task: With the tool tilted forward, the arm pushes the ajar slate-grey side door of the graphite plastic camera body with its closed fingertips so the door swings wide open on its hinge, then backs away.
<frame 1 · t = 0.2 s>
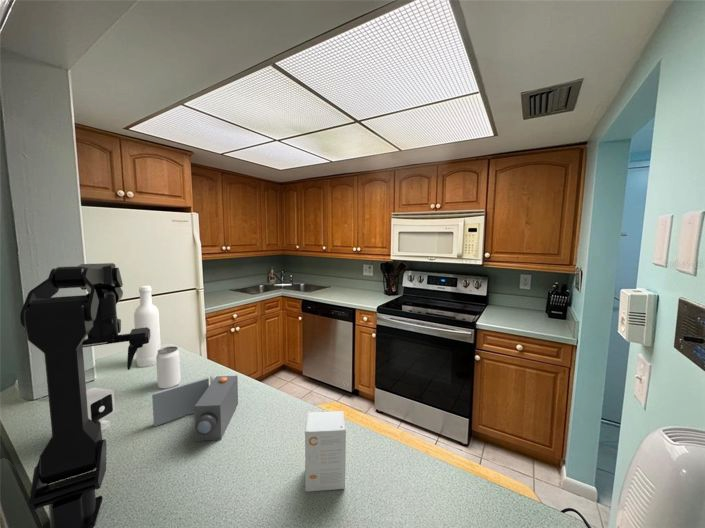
hand: (106, 373, 72), 15 cm above the countertop, tool pointing down, fingers open, 9 cm apart
side door: (182, 399, 78), point 5 cm above the countertop, hinge at 55.0°
can: (169, 384, 95), on the countertop
security camera: (92, 432, 72), on the countertop
bottle: (149, 363, 110), on the countertop
small box: (325, 478, 60), on the countertop
camera body: (213, 405, 84), on the countertop
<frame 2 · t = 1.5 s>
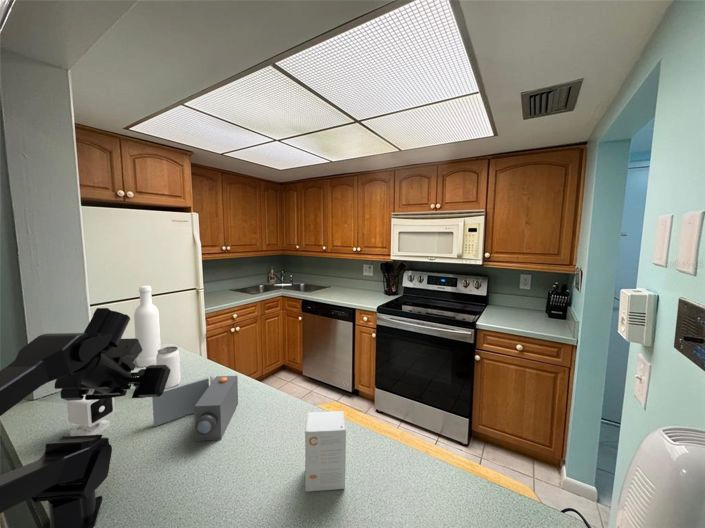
hand: (137, 392, 67), 13 cm above the countertop, tool tilted 45°, fingers open, 5 cm apart
nothing on the countertop moved.
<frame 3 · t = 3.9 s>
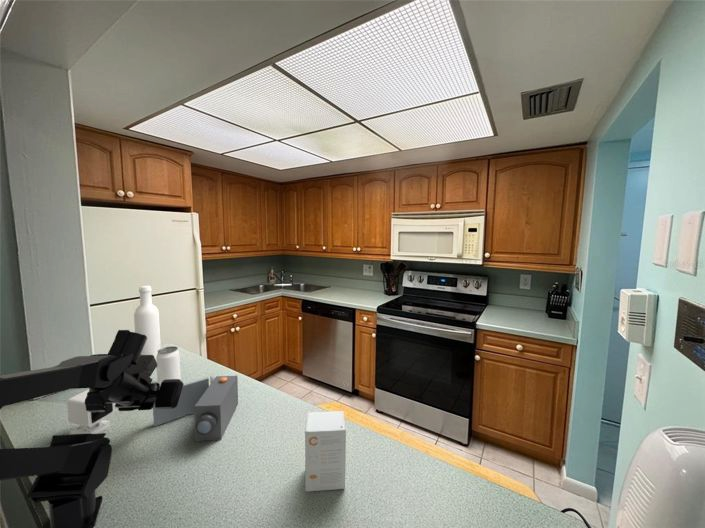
hand: (152, 403, 73), 7 cm above the countertop, tool tilted 45°, fingers closed, pressing on side door
side door: (182, 399, 78), point 5 cm above the countertop, hinge at 55.2°, touching gripper
everything else where it was.
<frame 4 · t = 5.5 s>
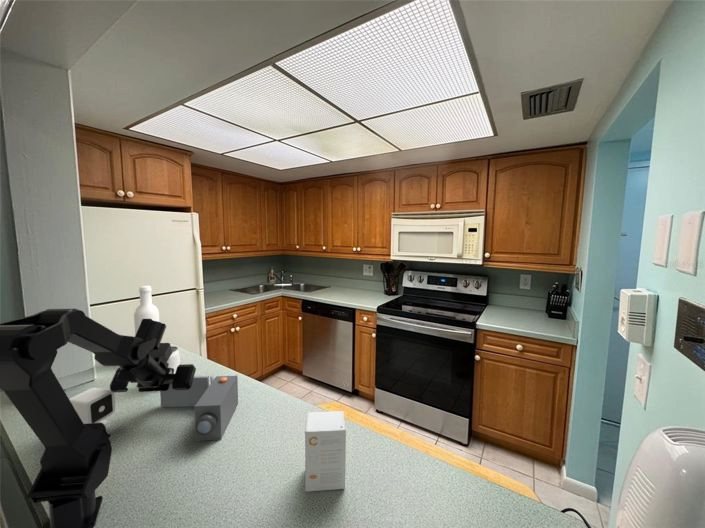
hand: (166, 387, 81), 6 cm above the countertop, tool tilted 45°, fingers closed, pressing on side door
side door: (185, 390, 83), point 5 cm above the countertop, hinge at 92.1°, touching gripper
everything else where it was.
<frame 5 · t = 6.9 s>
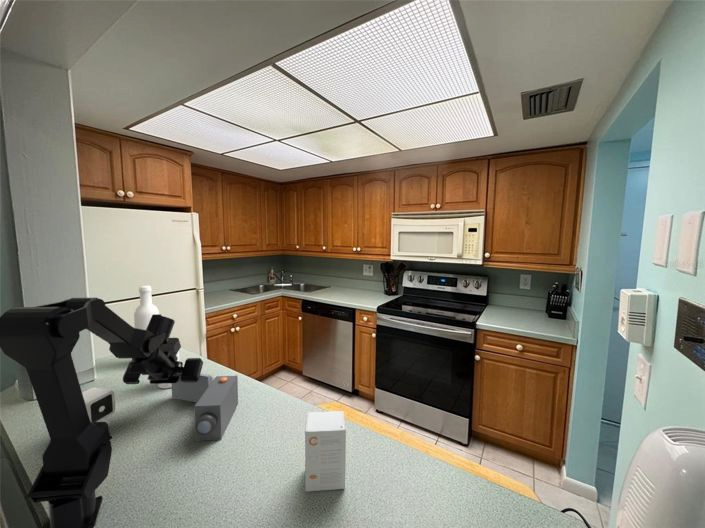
hand: (175, 380, 85), 6 cm above the countertop, tool tilted 45°, fingers closed
side door: (191, 385, 85), point 5 cm above the countertop, hinge at 110.7°, touching gripper
everything else where it was.
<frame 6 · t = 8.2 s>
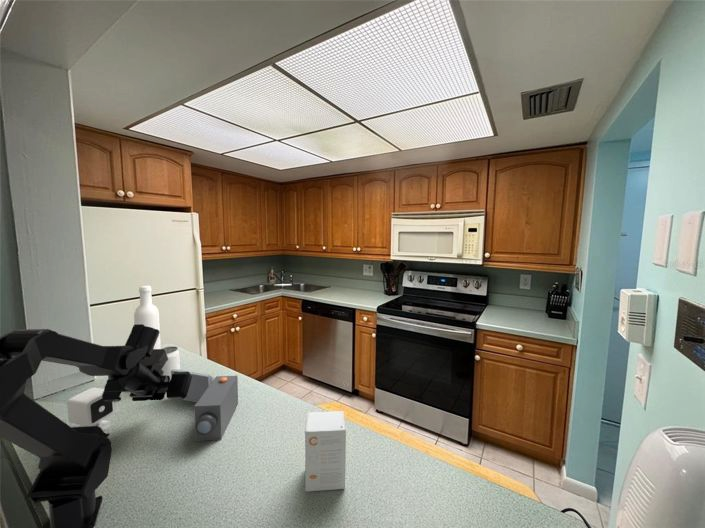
hand: (162, 395, 78), 6 cm above the countertop, tool tilted 45°, fingers closed
side door: (191, 385, 85), point 5 cm above the countertop, hinge at 110.8°
everything else where it was.
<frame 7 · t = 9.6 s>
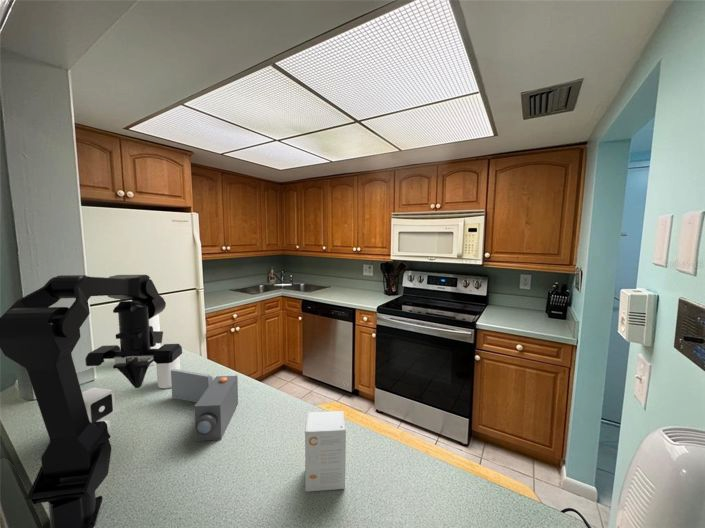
hand: (138, 387, 70), 12 cm above the countertop, tool pointing down, fingers closed
nothing on the countertop moved.
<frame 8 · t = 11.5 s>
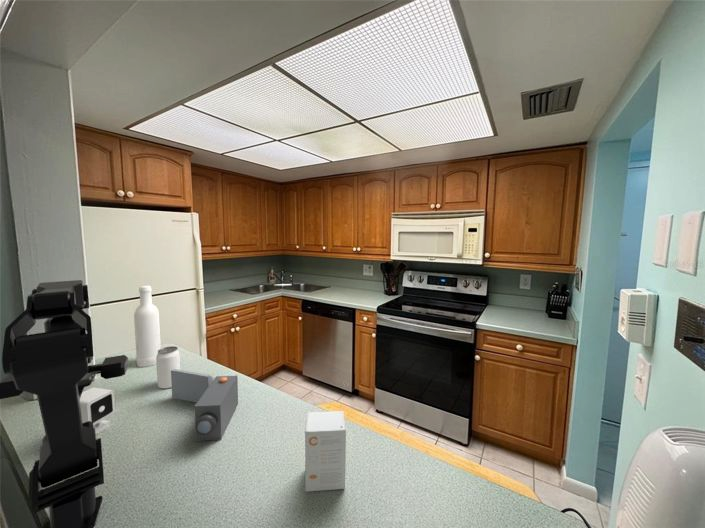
hand: (72, 413, 60), 13 cm above the countertop, tool pointing down, fingers closed
nothing on the countertop moved.
at the end: side door at +111° (first picture: +55°) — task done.
